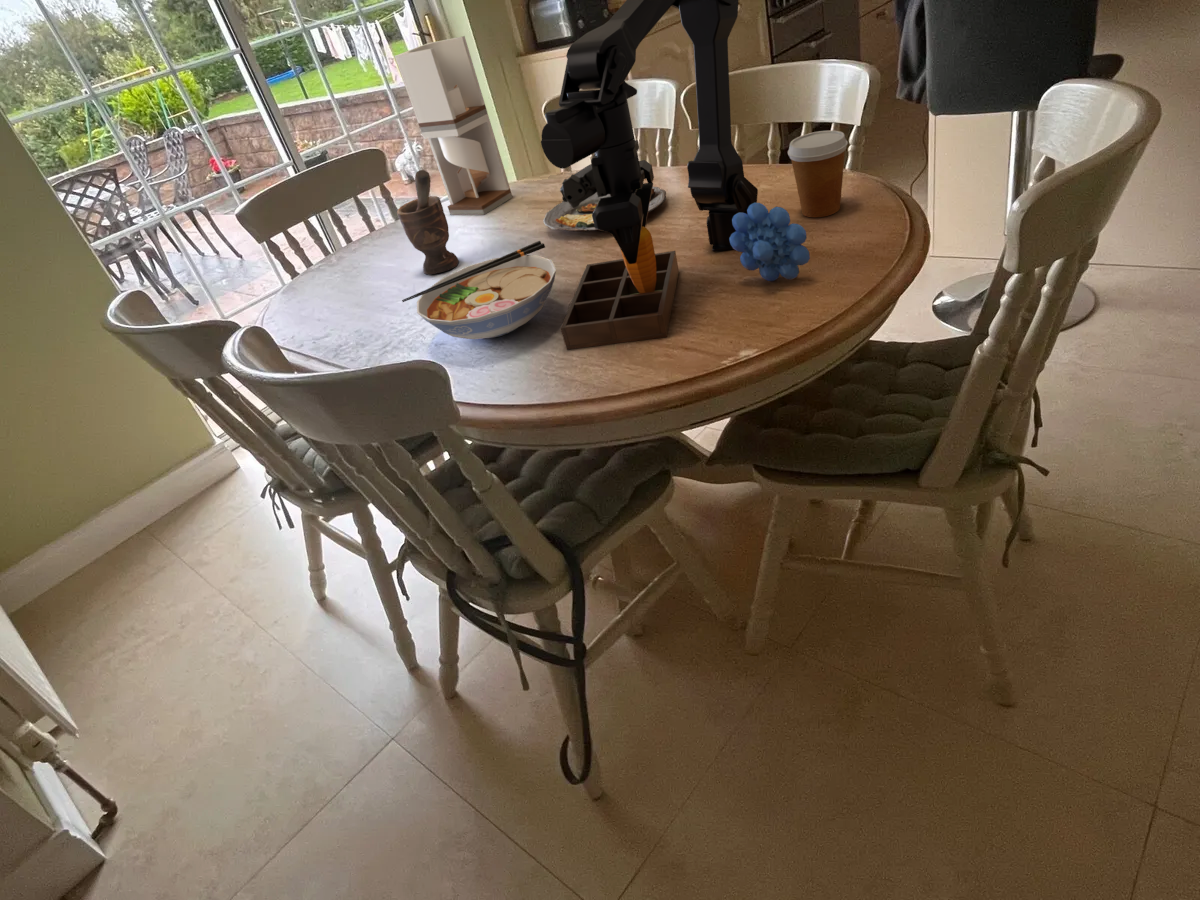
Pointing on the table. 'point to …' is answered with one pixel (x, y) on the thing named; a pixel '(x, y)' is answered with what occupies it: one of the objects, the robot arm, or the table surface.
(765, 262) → the grapes
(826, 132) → the disposable coffee cup
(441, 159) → the white wooden shelf
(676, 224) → the table surface
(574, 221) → the food plate
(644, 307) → the wooden compartment organizer
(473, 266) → the ramen bowl
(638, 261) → the carrot
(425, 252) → the mortar and pestle
